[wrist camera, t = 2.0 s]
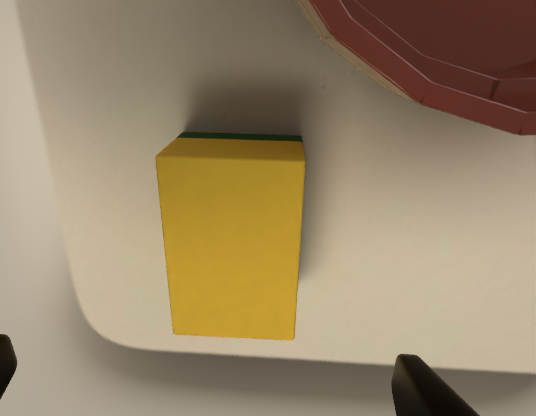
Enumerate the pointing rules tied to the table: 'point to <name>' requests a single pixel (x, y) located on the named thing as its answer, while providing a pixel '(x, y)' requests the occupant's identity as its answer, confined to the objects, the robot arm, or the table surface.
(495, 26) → the wash bowl
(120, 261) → the table surface
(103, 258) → the table surface
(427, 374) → the robot arm
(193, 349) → the table surface
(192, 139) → the sponge
